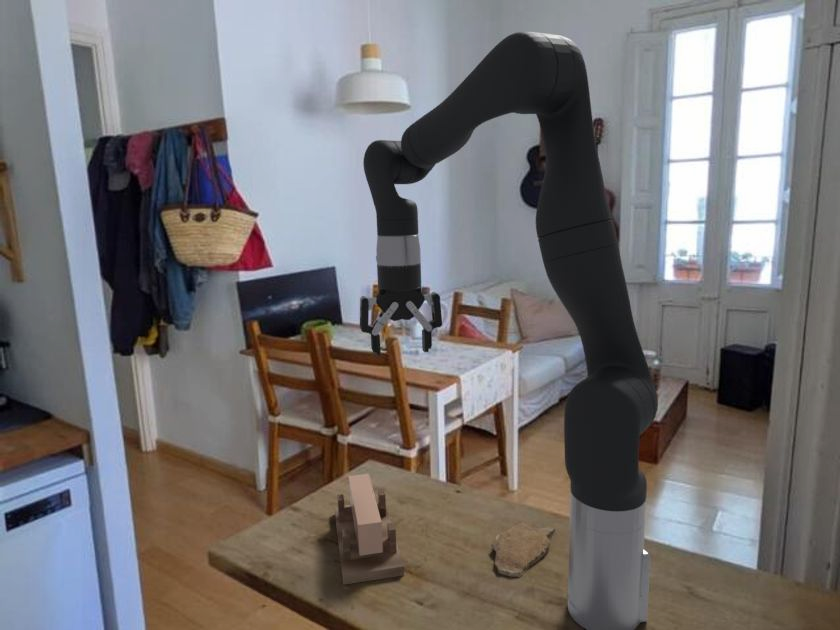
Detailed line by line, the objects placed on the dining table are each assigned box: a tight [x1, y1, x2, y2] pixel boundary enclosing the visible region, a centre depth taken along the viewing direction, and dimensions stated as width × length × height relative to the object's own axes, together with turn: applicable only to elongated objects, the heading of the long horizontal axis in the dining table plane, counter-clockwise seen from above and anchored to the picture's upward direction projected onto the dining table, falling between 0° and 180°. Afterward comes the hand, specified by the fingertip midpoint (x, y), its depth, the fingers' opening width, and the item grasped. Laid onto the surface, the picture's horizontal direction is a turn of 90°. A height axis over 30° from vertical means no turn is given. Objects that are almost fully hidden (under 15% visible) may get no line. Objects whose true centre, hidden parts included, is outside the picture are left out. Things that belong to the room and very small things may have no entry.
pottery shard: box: [491, 519, 556, 578], centre depth 92 cm, size 8×3×15 cm
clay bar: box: [348, 473, 383, 556], centre depth 94 cm, size 4×16×5 cm, turn 12°
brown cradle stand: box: [334, 488, 405, 586], centre depth 95 cm, size 20×9×6 cm, turn 12°
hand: (402, 353), depth 103 cm, fingers open, 8 cm apart
